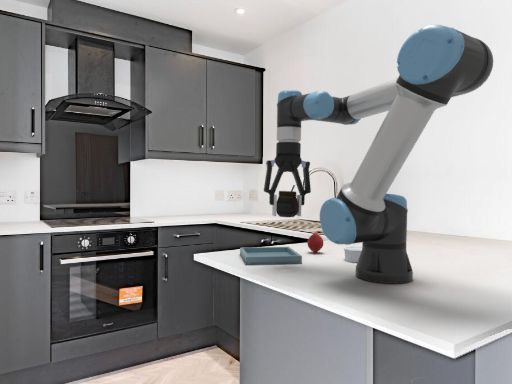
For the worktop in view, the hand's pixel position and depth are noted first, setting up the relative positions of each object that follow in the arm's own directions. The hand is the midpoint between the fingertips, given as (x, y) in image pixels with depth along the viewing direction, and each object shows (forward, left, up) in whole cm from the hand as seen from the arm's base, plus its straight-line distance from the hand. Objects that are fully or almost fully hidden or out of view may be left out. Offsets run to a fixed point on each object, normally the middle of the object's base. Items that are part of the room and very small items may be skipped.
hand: (286, 215), depth 123 cm
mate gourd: (0, 0, 0) cm, 0 cm away
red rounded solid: (+20, -16, -16) cm, 30 cm away
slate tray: (+11, +3, -16) cm, 20 cm away
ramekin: (+5, -26, -16) cm, 31 cm away
